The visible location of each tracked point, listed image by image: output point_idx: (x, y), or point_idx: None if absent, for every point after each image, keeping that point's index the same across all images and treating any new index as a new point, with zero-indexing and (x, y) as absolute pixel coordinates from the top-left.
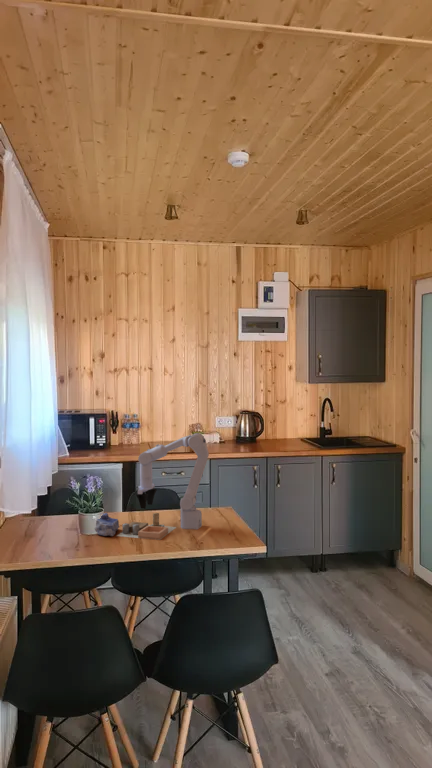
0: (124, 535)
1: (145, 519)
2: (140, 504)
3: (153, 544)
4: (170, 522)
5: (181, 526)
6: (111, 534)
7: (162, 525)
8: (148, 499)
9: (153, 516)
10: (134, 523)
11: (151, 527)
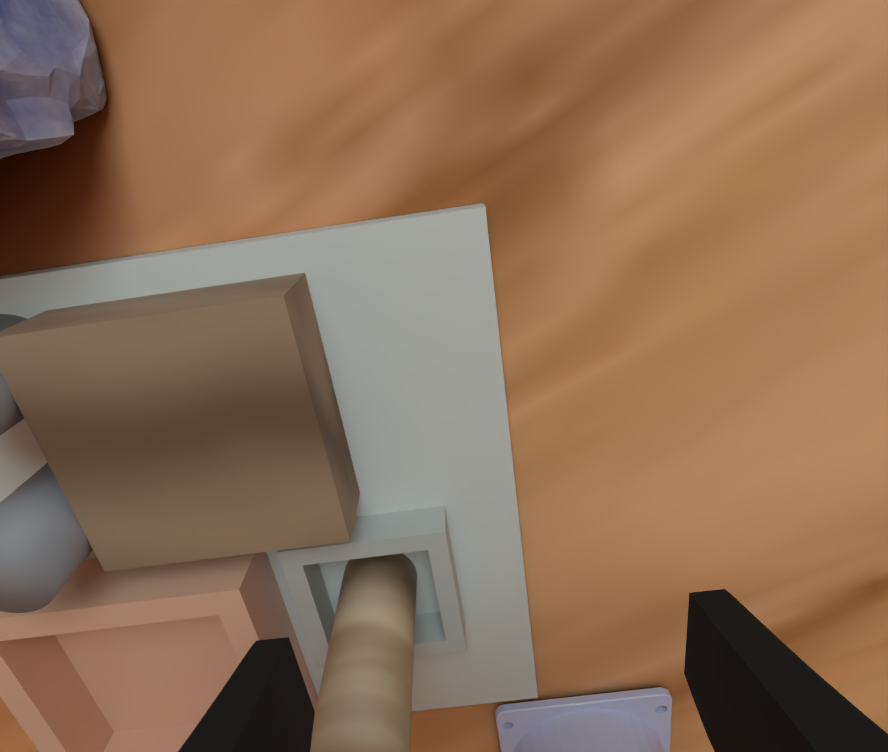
0: None
1: (872, 150)
2: (195, 747)
3: (12, 719)
4: (761, 535)
5: (531, 749)
6: None
7: (430, 648)
8: (770, 748)
9: (314, 722)
10: (221, 386)
11: (236, 633)
